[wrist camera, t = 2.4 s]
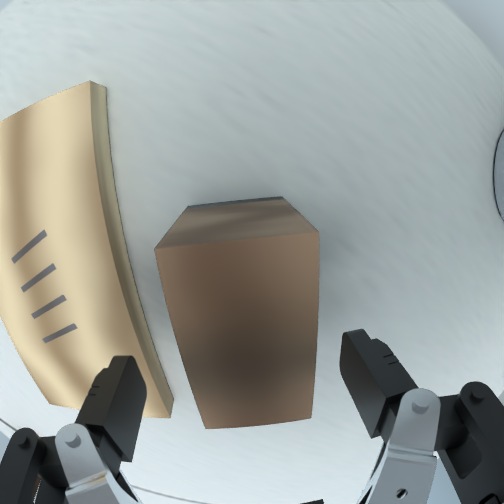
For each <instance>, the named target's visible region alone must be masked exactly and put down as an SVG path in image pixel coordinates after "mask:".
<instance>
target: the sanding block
mask: <svg viewBox="0 0 504 504" xmlns="http://www.w3.org/2000/svg"><path fill="white" fill-rule="evenodd" d="M154 251H155V255H156V260H157V265H158V270H159V274H160V279H161V283H162V287H163V292H164V296H165V300H166V304H167V308H168V312H169V316H170V319H171V323H172V327H173V331H174V334H175V338H176V341H177V345H178V348H179V352H180V355H181V358H182V362H183V365H184V368H185V371H186V374H187V378H188V381H189V384H190V387H191V390H192V393H193V396H194V399H195V401H196V404H197V407H198V410H199V413H200V415H201V418H202V421H203V424H204V426H205V429H219V428H237V427H250V426H260V425H269V424H277V423H285V422H291V421H298V420H304V419H310V418H311V415H312V405H313V394H314V382H315V368H316V352H317V333H318V306H319V232H318V231H317V230H316V229H315V228H314V227H313V226H312V225H311V224H310V223H309V222H308V221H307V220H306V219H305V218H304V217H303V216H302V215H301V214H300V213H299V212H298V211H297V210H296V209H295V208H294V207H292V206H291V205H290V204H289V203H288V202H287V201H286V200H285V199H284V198H283V197H270V198H259V199H248V200H238V201H228V202H219V203H210V204H201V205H193V206H188V207H187V208H186V209H185V210H184V212H183V213H182V214H181V215H180V217H179V218H178V219H177V220H176V222H175V223H174V224H173V225H172V227H171V228H170V229H169V230H168V232H167V233H166V234H165V235H164V237H163V238H162V239H161V241H160V242H159V243H158V245H157V246H156V247H155V249H154Z"/></svg>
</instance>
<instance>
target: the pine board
mask: <svg viewBox="0 0 504 504" xmlns="http://www.w3.org/2000/svg"><path fill="white" fill-rule="evenodd" d="M0 317H1V319H2V321H3V323H4V326H5V328H6V330H7V332H8V334H9V336H10V338H11V340H12V342H13V344H14V346H15V348H16V350H17V352H18V354H19V355H20V357H21V359H22V361H23V363H24V364H25V366H26V368H27V370H28V371H29V373H30V375H31V376H32V378H33V380H34V381H35V383H36V384H37V386H38V387H39V389H40V391H41V392H42V394H43V395H44V397H45V398H46V400H47V401H48V402H49V404H52V405H57V406H62V407H67V408H73V409H78V410H80V409H81V407H82V405H83V403H84V400H85V398H86V396H87V395H88V392H89V389H90V388H91V385H92V383H93V381H94V379H95V376H96V375H97V374H98V373H99V372H100V371H101V370H102V369H103V368H108V366H109V364H110V362H111V360H112V358H113V356H116V355H132V356H133V357H134V358H135V360H136V362H137V365H138V367H139V369H140V372H141V374H142V376H143V379H144V381H145V383H146V387H147V399H146V402H145V406H144V411H143V415H142V417H153V418H171V412H172V407H173V402H174V398H173V396H172V393H171V391H170V388H169V386H168V383H167V381H166V378H165V376H164V373H163V370H162V368H161V365H160V362H159V359H158V356H157V354H156V351H155V348H154V345H153V342H152V339H151V336H150V333H149V330H148V327H147V323H146V320H145V317H144V314H143V310H142V307H141V303H140V300H139V296H138V293H137V289H136V285H135V281H134V278H133V274H132V270H131V266H130V261H129V257H128V253H127V248H126V244H125V239H124V234H123V229H122V224H121V219H120V214H119V208H118V202H117V196H116V190H115V184H114V177H113V169H112V161H111V153H110V143H109V132H108V120H107V103H106V87H104V86H102V85H99V84H97V83H95V82H92V81H88V82H85V83H82V84H79V85H77V86H74V87H71V88H69V89H66V90H64V91H62V92H59V93H57V94H54V95H52V96H50V97H48V98H45V99H43V100H41V101H39V102H37V103H35V104H33V105H31V106H29V107H27V108H25V109H23V110H21V111H19V112H17V113H15V114H13V115H12V116H10V117H8V118H6V119H4V120H3V121H1V122H0Z"/></svg>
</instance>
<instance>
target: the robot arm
mask: <svg viewBox="0 0 504 504" xmlns="http://www.w3.org/2000/svg"><path fill="white" fill-rule="evenodd" d="M494 180H495V193H496V200H497V204H498V208H499V211H500V214H501V216H502V218H503V220H504V131H503V133H502V135H501V138H500V140H499V144H498V147H497V152H496V158H495V170H494ZM340 372H341V375H342V378H343V380H344V382H345V384H346V386H347V388H348V390H349V393H350V395H351V397H352V399H353V401H354V403H355V405H356V407H357V409H358V412H359V414H360V416H361V418H362V420H363V422H364V424H365V427H366V429H367V431H368V433H369V435H370V437H371V439H372V438H375V437H378V436H381V437H382V439H383V441H384V442H383V444H382V446H381V449H380V452H379V455H378V457H377V460H376V463H375V465H374V468H373V470H372V473H371V475H370V477H369V480H368V482H367V484H366V486H365V488H364V490H363V492H362V494H361V496H360V498H359V500H358V502H357V504H426V503H427V500H428V497H429V493H430V489H431V486H432V482H433V477H434V474H435V470H436V465H437V457H436V456H433V451H437V452H438V454H439V456H440V458H441V461H442V463H443V464H444V467H445V469H446V471H447V473H448V475H449V477H450V479H451V481H452V484H453V486H454V488H455V490H456V493H457V495H458V497H459V499H460V502H461V504H504V406H503V405H502V403H501V402H500V401H499V399H498V398H497V397H496V395H495V394H494V393H493V391H492V390H491V389H490V388H489V387H488V386H487V385H486V384H484V383H481V382H469V383H467V384H466V385H464V386H463V388H462V389H461V391H460V393H459V394H457V395H450V396H443V397H438V396H437V395H436V394H435V393H434V392H432V391H430V390H427V389H423V388H418V386H417V385H416V384H415V382H414V381H413V379H412V378H411V377H410V375H409V374H408V372H407V371H406V370H405V368H404V367H403V366H402V364H401V363H400V362H399V360H398V359H397V358H396V356H395V355H394V353H393V352H392V351H391V349H390V348H389V347H388V345H386V344H385V343H383V342H382V341H380V340H378V339H377V338H376V339H372V340H371V339H370V337H369V336H368V335H367V333H366V332H365V330H364V329H358V330H353V331H349V332H344V333H343V336H342V344H341V354H340ZM146 399H147V387H146V383H145V381H144V379H143V376H142V374H141V372H140V369H139V367H138V365H137V362H136V360H135V358H134V357H133V356H132V355H116V356H113V358H112V360H111V362H110V364H109V366H108V368H103V369H102V370H101V371H100V372H99V373H98V374H97V375H96V376H95V379H94V381H93V383H92V385H91V388H90V389H89V392H88V395H87V396H86V398H85V400H84V403H83V405H82V407H81V409H80V412H79V414H78V416H77V419H76V421H75V423H74V424H69V425H66V426H64V427H63V428H61V429H60V430H59V431H58V433H57V435H56V436H50V437H39V436H38V435H37V434H36V433H35V431H34V430H32V429H30V428H21V429H19V430H17V431H16V432H15V433H14V434H13V435H12V437H11V439H10V441H9V444H8V446H7V449H6V451H5V453H4V456H3V458H2V461H1V464H0V504H34V502H33V500H32V492H33V489H34V485H35V482H36V478H37V475H38V476H39V477H40V478H41V482H40V485H39V489H38V493H37V497H36V500H35V504H143V503H142V502H141V500H140V499H139V497H138V496H137V494H136V493H135V491H134V490H133V488H132V487H131V485H130V483H129V482H128V480H127V479H126V477H125V475H124V474H123V472H122V470H121V469H120V464H121V461H124V462H132V459H133V454H134V449H135V445H136V440H137V436H138V431H139V427H140V423H141V419H142V415H143V411H144V406H145V402H146ZM471 435H472V436H471ZM474 440H475V441H474ZM302 504H324V502H323V499H321V500H316V501H312V502H307V503H302Z"/></svg>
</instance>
